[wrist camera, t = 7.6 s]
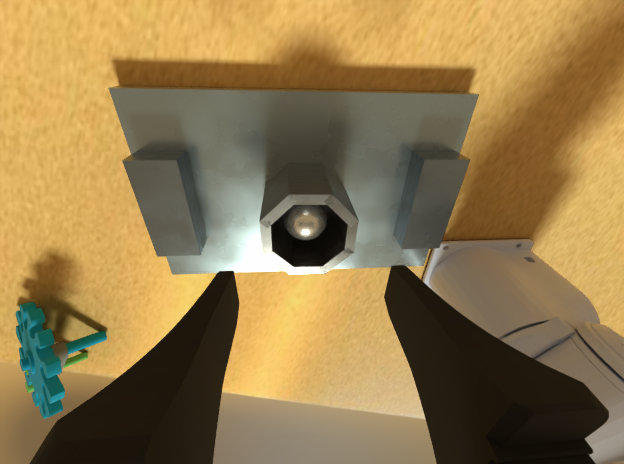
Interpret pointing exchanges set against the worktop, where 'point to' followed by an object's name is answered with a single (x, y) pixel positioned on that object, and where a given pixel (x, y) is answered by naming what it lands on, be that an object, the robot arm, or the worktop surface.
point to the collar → (307, 191)
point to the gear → (46, 357)
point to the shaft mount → (291, 149)
